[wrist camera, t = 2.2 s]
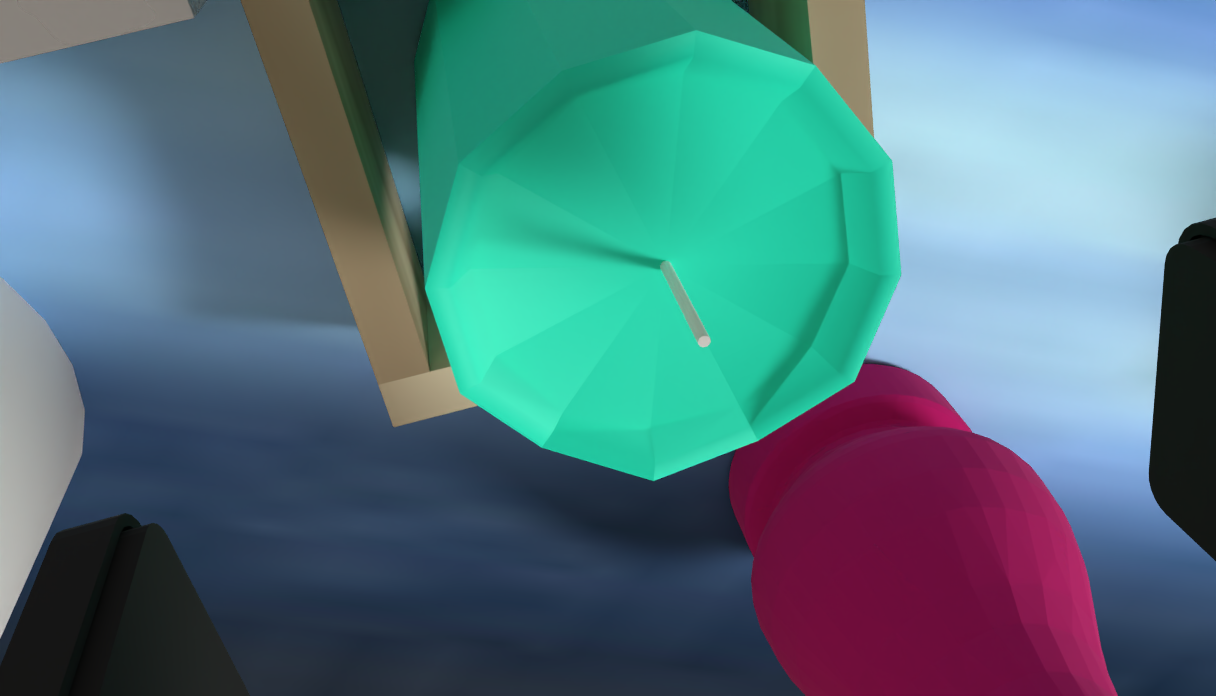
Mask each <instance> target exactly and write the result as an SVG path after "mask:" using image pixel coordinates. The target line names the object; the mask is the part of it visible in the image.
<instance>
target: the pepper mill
mask: <svg viewBox="0 0 1216 696" xmlns="http://www.w3.org/2000/svg"><path fill="white" fill-rule="evenodd" d="M729 494H730V502H731V505H732V508H733V511H734V514H735V516H736V519H737V521H738V523H739V526H740V528H741V530H742V532H743V535H744V537H745V539H746V541H747V544H748V546H749V548H750V550H751V552H752V555H753V557H754V561H753V568H752V577H751V583H752V594H753V603H754V608H755V611H756V614H757V617H758V621H759V624H760V627H761V629H762V631H763V633H764V635H765V637H766V639H767V640H768V642H769V644H770V646H771V648H772V650H773V652H774V653H775V655H776V657H777V659H778V661H779V662H780V664H781V665H782V667H783V668H784V670H785V671H786V673H787V674H788V676H789V677H790V679H791V680H792V681H793V682H794V683H795V684H796V686H797V687H798V688H799V689H800V690H801V691H802V692H803V693H804V694H805V695H806V696H1118V695H1117V693H1116V691H1115V688H1114V686H1113V684H1112V682H1111V679H1110V677H1109V675H1108V672H1107V668H1106V664H1105V660H1104V657H1103V653H1102V649H1101V644H1100V639H1099V633H1098V628H1097V622H1096V617H1095V611H1094V606H1093V600H1092V595H1091V589H1090V584H1089V578H1088V575H1087V571H1086V567H1085V564H1084V560H1083V558H1082V555H1081V553H1080V550H1079V547H1078V545H1077V542H1076V539H1075V537H1074V534H1073V531H1072V529H1071V526H1070V524H1069V522H1068V520H1067V518H1066V516H1065V514H1064V512H1063V511H1062V509H1061V508H1060V506H1059V505H1058V503H1057V502H1056V500H1055V499H1054V497H1053V496H1052V495H1051V493H1050V492H1049V490H1048V489H1047V487H1046V486H1045V484H1044V483H1043V481H1042V480H1041V479H1040V477H1039V476H1038V475H1037V474H1036V472H1035V471H1034V470H1033V469H1032V467H1031V466H1030V465H1029V464H1027V463H1026V462H1025V461H1024V460H1022V459H1021V458H1020V457H1019V456H1018V455H1016V454H1015V453H1014V452H1013V451H1011V450H1010V449H1008V448H1006V447H1004V446H1003V445H1001V444H999V443H997V442H995V441H993V440H991V439H990V438H987V437H984V436H981V435H978V434H975V433H972V431H971V429H970V428H969V427H968V426H967V424H966V423H965V422H964V421H963V419H962V418H961V417H960V416H959V415H958V413H957V412H956V411H955V410H954V408H953V407H952V406H951V405H950V404H949V402H948V401H947V400H946V399H945V397H944V396H943V395H942V394H941V393H940V392H939V391H938V390H937V389H935V388H934V387H933V386H932V385H931V384H930V383H928V382H927V381H926V380H924V379H923V378H921V377H920V376H918V375H916V374H914V373H912V372H909V371H907V370H904V369H901V368H897V367H893V366H885V365H877V364H862V366H861V368H860V371H859V373H858V375H857V377H856V380H855V382H853V383H851V384H850V385H848V386H847V387H845V388H843V389H842V390H840V391H838V392H837V393H835V394H834V395H832V396H830V397H829V398H827V399H825V400H824V401H822V402H821V403H819V404H817V405H816V406H814V407H812V408H811V409H809V410H808V411H806V412H804V413H803V414H801V415H799V416H798V417H796V418H794V419H793V420H791V421H790V422H788V423H786V424H785V425H783V426H781V427H780V428H778V429H777V430H775V431H773V432H772V433H770V434H768V435H767V436H765V437H764V438H762V439H760V440H759V441H756V442H754V443H751V444H749V445H746V446H743V447H741V448H738V449H736V451H735V454H734V457H733V460H732V463H731V468H730V474H729Z"/></svg>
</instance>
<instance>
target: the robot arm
mask: <svg viewBox="0 0 1216 696" xmlns="http://www.w3.org/2000/svg"><path fill="white" fill-rule="evenodd" d="M1149 482H1150V486H1151V490H1152V493H1153V495H1154V498H1155V500H1156V501H1157V503H1158V505H1159V506H1160V508H1161V509H1162V510H1163V511H1164V512H1165V514H1166V515H1167V516H1169V517H1170V518H1171V519H1172V520H1173V521H1174V522H1175V523H1176V524H1177V525H1178V526H1179V527H1180V528H1181V529H1182V530H1183V531H1184V532H1185V533H1187V534H1188V535H1189V536H1190V537H1191V538H1192V539H1193V540H1194V541H1195V542H1196V543H1197V544H1198V545H1199V546H1200V547H1201V548H1202V549H1203V550H1205V551H1206V552H1207V553H1208V554H1209V555H1210V556H1211V557H1212V558H1213V559H1214V560H1215V561H1216V218H1213V219H1209V220H1205V221H1202V222H1198V223H1194V224H1191V225H1190V226H1189V227H1187V228H1186V229H1185V230H1184V231H1183V233H1182V235H1181V236H1180V238H1179V242H1178V244H1176V245H1175V246H1173V247H1172V248H1170V250H1169V252H1168V254H1167V256H1166V261H1165V269H1164V282H1163V295H1162V308H1161V321H1160V334H1159V347H1158V360H1157V373H1156V386H1155V399H1154V412H1153V425H1152V438H1151V451H1150V464H1149ZM0 696H250V695H249V693H248V691H247V689H246V687H245V685H244V683H243V681H242V679H241V677H240V675H239V673H238V671H237V670H236V668H235V666H234V664H233V662H232V660H231V658H230V656H229V654H228V652H227V650H226V648H225V646H224V644H223V643H222V641H221V639H220V637H219V635H218V633H217V631H216V629H215V627H214V625H213V623H212V621H211V619H210V617H209V616H208V614H207V612H206V610H205V608H204V606H203V604H202V602H201V600H200V598H199V596H198V594H197V592H196V590H195V588H194V587H193V585H192V583H191V581H190V579H189V577H188V575H187V573H186V571H185V569H184V567H183V565H182V563H181V561H180V560H179V558H178V556H177V554H176V552H175V550H174V548H173V546H172V544H171V542H170V540H169V538H168V536H167V535H166V533H165V532H164V530H163V529H162V528H161V527H160V526H159V525H158V524H155V523H151V524H148V525H144V526H141V525H140V523H139V522H138V521H137V520H136V519H135V518H134V517H133V516H132V515H129V514H126V513H124V514H121V515H117V516H113V517H110V518H106V519H102V520H99V521H95V522H91V523H88V524H84V525H80V526H76V527H73V528H69V529H65V530H62V531H60V532H58V533H56V535H55V536H54V538H53V539H52V541H51V543H50V545H49V548H48V550H47V553H46V555H45V558H44V560H43V563H42V565H41V568H40V570H39V573H38V575H37V577H36V580H35V582H34V585H33V587H32V590H31V592H30V595H29V597H28V600H27V602H26V604H25V607H24V609H23V612H22V614H21V617H20V619H19V622H18V624H17V627H16V629H15V632H14V634H13V636H12V639H11V641H10V644H9V646H8V649H7V651H6V654H5V656H4V659H3V661H2V663H1V666H0Z"/></svg>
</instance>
